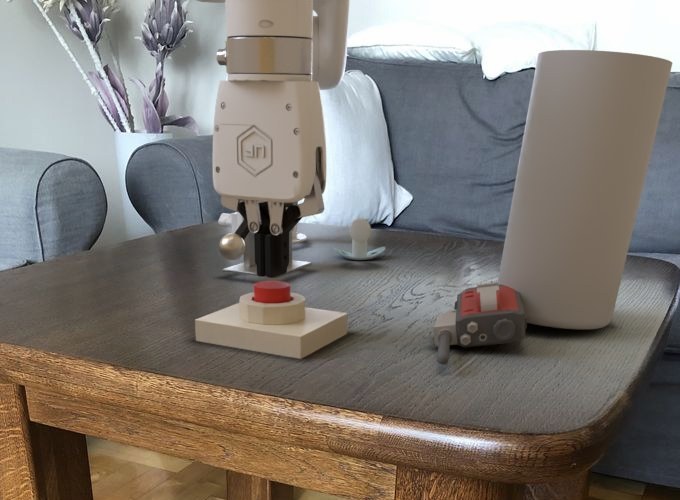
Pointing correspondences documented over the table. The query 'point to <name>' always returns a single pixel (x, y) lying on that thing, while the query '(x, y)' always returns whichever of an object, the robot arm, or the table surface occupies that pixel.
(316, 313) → the button housing
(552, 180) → the cylinder vase
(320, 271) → the table surface
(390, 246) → the table surface
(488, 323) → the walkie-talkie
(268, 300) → the button
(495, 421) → the table surface
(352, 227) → the pacifier
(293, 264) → the switch bracket
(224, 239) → the switch lever
